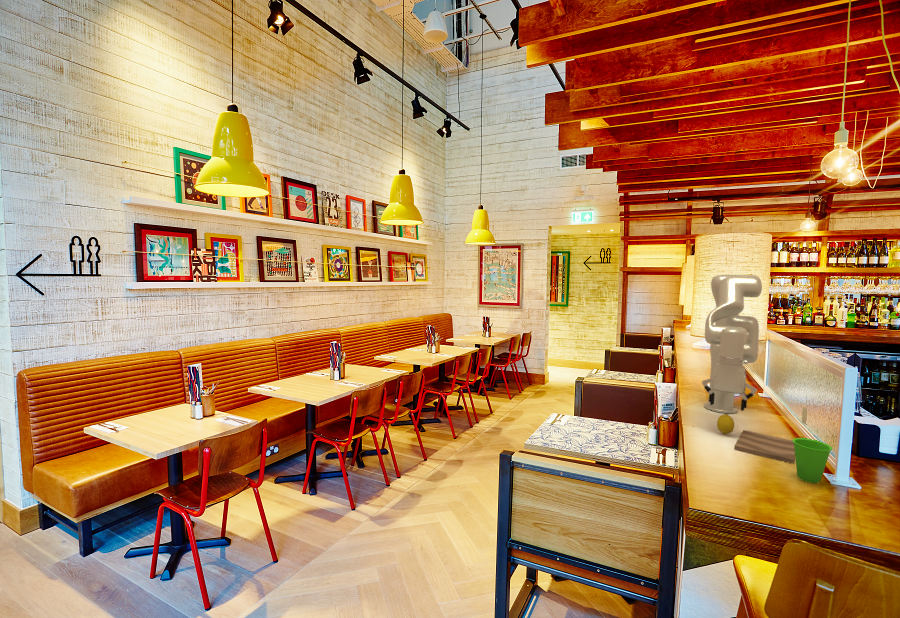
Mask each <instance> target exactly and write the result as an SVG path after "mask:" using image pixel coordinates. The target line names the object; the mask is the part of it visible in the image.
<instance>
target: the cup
mask: <svg viewBox="0 0 900 618" xmlns="http://www.w3.org/2000/svg"><path fill="white" fill-rule="evenodd" d="M791 440H792V441H793V442H794V449H795V459H794V460H795V467H796V476H797V477H799V478H800V479H799V478H798V479H799V480H801V479H802V480H804V481H803V482H805V481H807V482H806V483H808V482H811V483H810V484H813V483H818V482H819V483H821V480H822V477H823V474H824V472H825V469H826V465H827V462H828V460H829V457H830V453H831V451H832V450H833V447H832V446H831V445H830V444H828V443H825V442H824V443H823V442H820V441H817V440H812V439H807V438H802V437H795V438H793V439H791ZM802 480H801V481H802ZM819 483H818V484H819Z"/></svg>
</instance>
